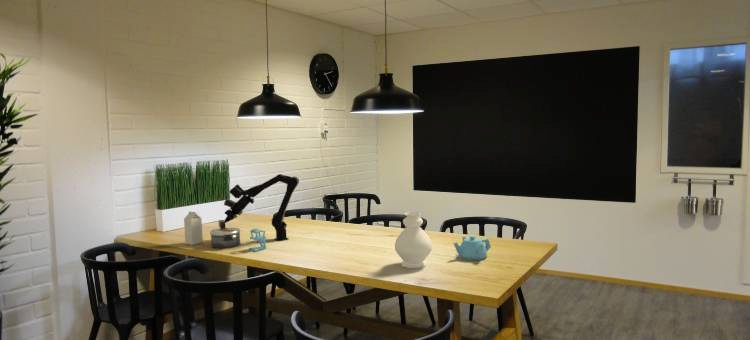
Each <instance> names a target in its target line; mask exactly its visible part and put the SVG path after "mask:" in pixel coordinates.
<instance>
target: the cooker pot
mask: <svg viewBox="0 0 750 340" xmlns="http://www.w3.org/2000/svg"><path fill="white" fill-rule="evenodd" d="M240 233H241V232H240ZM240 233H238V234H235V235H229V236H212V235H210V239H211V240H210V241H211V243H210V244H211V248H212V249H217V250H219V249H220V250H222V249H223V250H224V249H232V248H237V247H240V246H241V234H240Z"/></svg>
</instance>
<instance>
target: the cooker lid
mask: <svg viewBox="0 0 750 340" xmlns="http://www.w3.org/2000/svg"><path fill="white" fill-rule="evenodd" d="M218 227H219V228H214V229H211V230H210V231H209V232H210V236H211V235H212V236H229V235H235V234H238V233H241V229H240V228H239V227H226V223H225V219H220V220H218Z"/></svg>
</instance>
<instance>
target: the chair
mask: <svg viewBox="0 0 750 340" xmlns="http://www.w3.org/2000/svg"><path fill="white" fill-rule="evenodd" d="M253 233H254V234H255V236H254V235H253ZM261 233H263V234H262V235H261ZM250 234H251V235H250V237H249V239H250V240H254V241H257V242H258V244H259V245H260V246H254V247H248V250H249V251H251V252H254V253H257V252H260V251H265V250H267V245H266V239H267V236H265V234H266V230H262V229H258V228H252V229H251V230H250Z"/></svg>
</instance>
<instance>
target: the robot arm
mask: <svg viewBox="0 0 750 340" xmlns="http://www.w3.org/2000/svg"><path fill="white" fill-rule="evenodd" d="M279 182H280V183H283V184H286V191H285V193H284V196H283V199H282V201H281V204H280V206H279V208H278V211H277V212H275V213H273V215H272V218H271V220H270V221H271V226H272V227H274V230H275V238H274V240H275V241H279V242H281V241H286V240H289V239H290V238H289V237H287V225H288V224H287V223H286V222H285V221H284V220H285V213H286V210H287V207H288V206H289V203H290V200H291V197H292V195H293V193H294V191H295V190H296V188H297V187H298V185H299V183H300V180H299V178H298V177H297V176H289V175H285V174H282V173H279V174H277V175H276V176H274V177H272V178H270V179H268V180H266V181H265V182H263V183H260V184H257V185H254V186H252V187H250V188H248V189H243V188H242V187H241V186H240V185H239V184H235V186H233V187H232V188H231V189H230V190H229V194H230V195H232V196H233V197H234V198H235V199H238V200H237V201H233V200H232V199H228V198H226V199H225V201H223V202H224V203H223V205H224V206H226V207H229V209H227V210H225V212H224V214H225V215H226V217H225V219H224V221H225V224H226V223H229V222H230V221H232V220H234V219H236V218H238V216H240V215H242V214H243V211H244V210H245V209H246V207H247V206H248V205H249V204H254V203H255V197H257V196H258V195H260V193H262V192H263V191H264V190H265V189H268V188H269V187H271V186H273V185H275V184H277V183H279Z"/></svg>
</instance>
